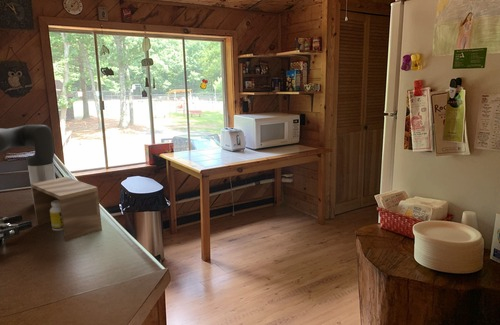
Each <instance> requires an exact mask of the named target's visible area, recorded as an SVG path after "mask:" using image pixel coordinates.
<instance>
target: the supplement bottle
mask: <svg viewBox="0 0 500 325" xmlns="http://www.w3.org/2000/svg"><path fill="white" fill-rule="evenodd" d="M51 205H52V208H51V209H50V217H51V222H50V223H51V230H52V231H56V232H58V231H64V230H63V222H62V215H61V207H60V200H54V201H52V202H51Z"/></svg>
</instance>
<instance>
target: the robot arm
mask: <svg viewBox="0 0 500 325" xmlns="http://www.w3.org/2000/svg"><path fill="white" fill-rule="evenodd" d="M54 146H55V145H54V135H53V131H52V130H51V128H50V127H49V126H48V125H46V124H25V125H20V126H16V127H10V128H4V127H3V128H1V127H0V153H3V152H4V151H6V150H8V149H11V148H34V154H33V155H31V156H28V157H27V159H26V163H27V168H28V175H29V176H28V177H29V182H30V185H31V184H32V183H37V182H42V181H47V180H52V179H57V178H56V172H55V171H56V170H55V164H54V157H55V147H54ZM30 188H31V187H30ZM31 191H32V188H31ZM31 195H32V194H31ZM32 198H33V195H32ZM32 202H33V201H32ZM33 204H34V202H33ZM32 227H33V222H32V221H31V220H26V221H23V216H22V215H21V214H17V215H13V216H8V217H7V216H0V240H4V239H7V238H10V237H15V236H18V235H20V232H21V231H24V230H28V229H31V228H32Z"/></svg>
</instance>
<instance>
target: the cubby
mask: <svg viewBox="0 0 500 325" xmlns="http://www.w3.org/2000/svg"><path fill="white" fill-rule="evenodd" d="M30 188H32V190H31V195H33V197H32V202H34V203H33V207H34V214H35V221H36V226H42V225H44V224H47V223H51V217H50V209H51V208H52V205H51V202H52V201H54V200H60V207H61V215H62V222H63V230H62V231H63V236H64V242H66V243H67V242H70V241H73V240H75V239H79V238H81V237H85V236H88V235H90V234H94V233H96V232H99V231H102V230H103V226H102V218H101V208H100V200H99V191H98V186H95V185H92V184H89V183H85V182H83V181H80V180H77V179H73V178H71V177H67V176H63V177H57V178H56V179H52V180H47V181H42V182H37V183H32V184H31V183H30Z"/></svg>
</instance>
